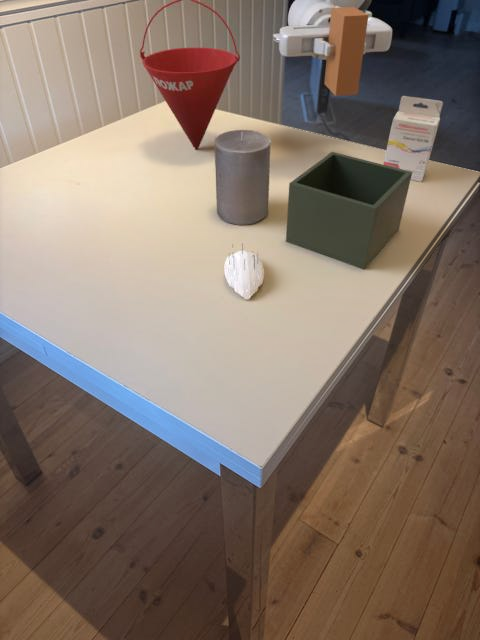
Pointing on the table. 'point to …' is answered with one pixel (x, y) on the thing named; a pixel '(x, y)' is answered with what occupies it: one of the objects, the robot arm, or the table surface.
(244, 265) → the pincushion
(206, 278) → the table surface
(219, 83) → the fire bucket
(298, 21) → the robot arm
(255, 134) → the pillar candle
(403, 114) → the ink cartridge box
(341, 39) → the orange rectangular block
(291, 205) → the waste bin
